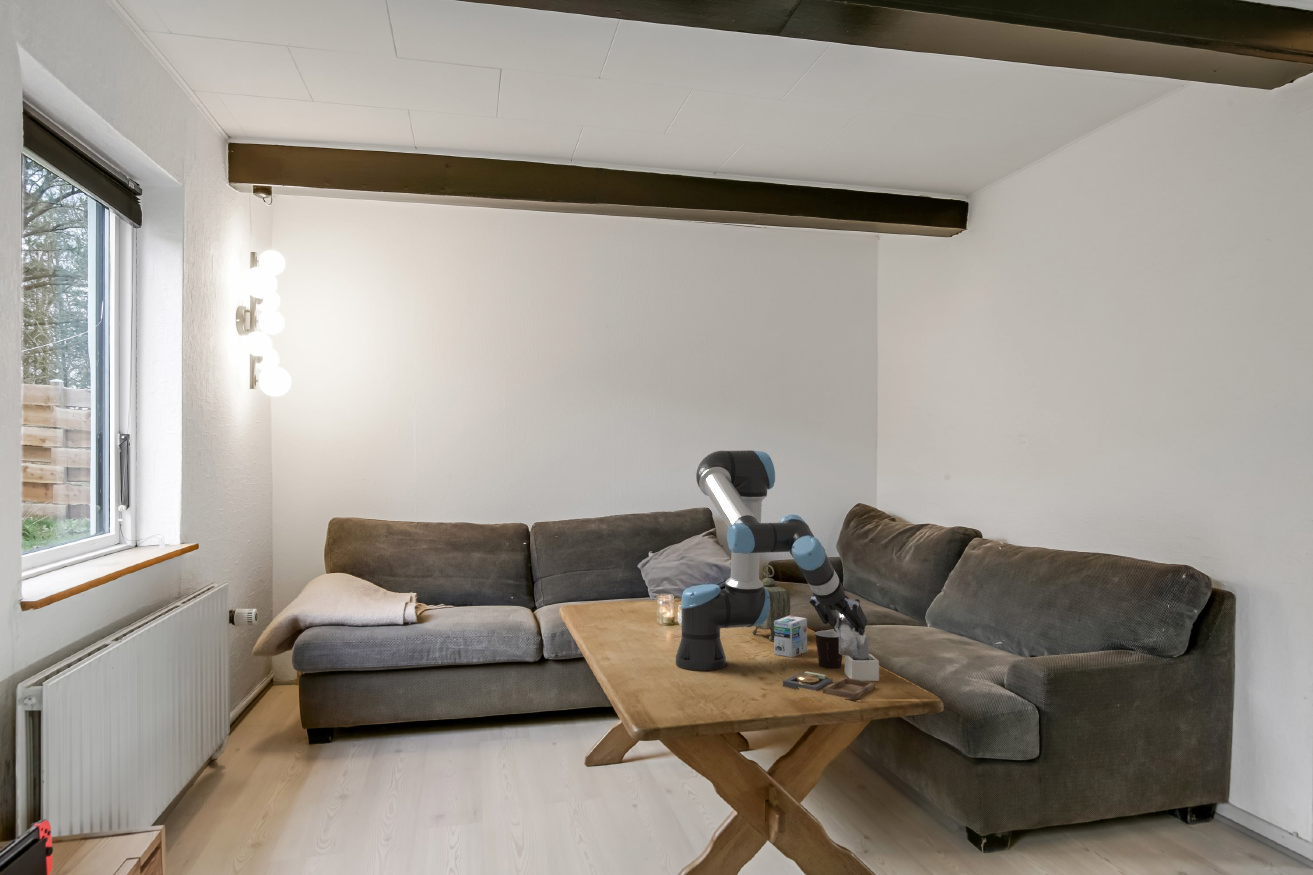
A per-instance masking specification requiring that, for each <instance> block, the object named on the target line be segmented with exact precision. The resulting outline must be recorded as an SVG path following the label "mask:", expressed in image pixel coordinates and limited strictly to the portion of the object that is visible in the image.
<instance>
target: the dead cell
mask: <svg viewBox="0 0 1313 875" xmlns="http://www.w3.org/2000/svg"><path fill="white" fill-rule="evenodd" d="M869 654H870V653H869V637H868V636H867V635H866V638H865V640H864V643H863V645H861V644H860V643H859V641H858V639H857V655H854V656H852V659H853V660H869Z"/></svg>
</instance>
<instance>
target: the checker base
mask: <svg viewBox="0 0 1313 875" xmlns="http://www.w3.org/2000/svg"><path fill="white" fill-rule="evenodd" d="M799 674H814V675H817V676H819V683H817V684H815V685H810V684H805V683H800V682H797V675H799ZM833 681H834V680H833V678H828V677H827V675H826V674H824V673H823V674H821V673H816V672H811V671H805V672H804V673H803V672H802V673H801V672H798V673H797V674H794V675H792V676H790V677H788V678H786V679H783V680H782V687H786V688H790V689H795V690H796V689H797V690H800V688H801V689H806V690H811V691H815V692H816V691H819V690H821V689H823V688H824V687H826V686H828V685H830V684H832V683H834V682H833Z"/></svg>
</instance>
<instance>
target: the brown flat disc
mask: <svg viewBox="0 0 1313 875" xmlns="http://www.w3.org/2000/svg"><path fill="white" fill-rule="evenodd" d="M798 674H799V673H798ZM796 675H797V674H796ZM797 682H800V683H805V684H810V685H815V684H817V683H819V676H817V675H814V674H804V673H803V674H799V675H797Z"/></svg>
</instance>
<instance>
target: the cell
mask: <svg viewBox="0 0 1313 875" xmlns="http://www.w3.org/2000/svg"><path fill="white" fill-rule="evenodd" d="M838 619H839V654H840V655H843V656H844V655H845V656H854V655H857V637H856V635H855V633H854V631H853V628H854V627H853V626H852V625H851V623H850V622H849V621H848V620H847V619H846V617H845V616H844V615H841V614H840V613H839V612H838ZM845 656H844V657H845Z"/></svg>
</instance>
